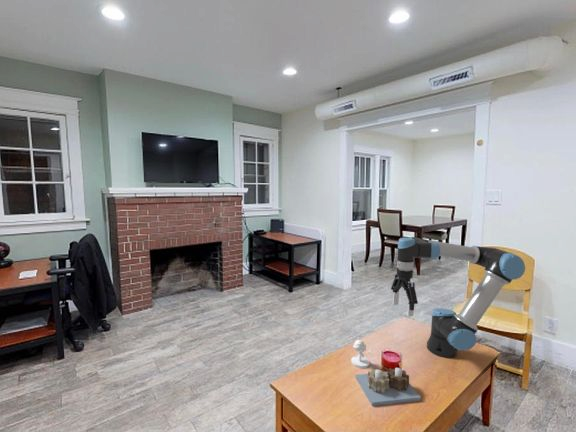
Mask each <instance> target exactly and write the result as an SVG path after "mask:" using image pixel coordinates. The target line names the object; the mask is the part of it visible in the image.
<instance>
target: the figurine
mask: <svg viewBox="0 0 576 432" xmlns="http://www.w3.org/2000/svg"><path fill="white" fill-rule="evenodd" d="M352 345H353V346H352V348H353V349H355V352H358V354H356V355H354V356H352V357H351V364H352V365H353V366H354V367H355V368H359V369H366V368H369V366H370V360H369V358H368V357H366V356H364V355H365V354H364V352H366V351H367V346H366V345H367V344H365V342H364V341H363V340H361V339H356V340H355V342H354V343H353V344H352Z"/></svg>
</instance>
